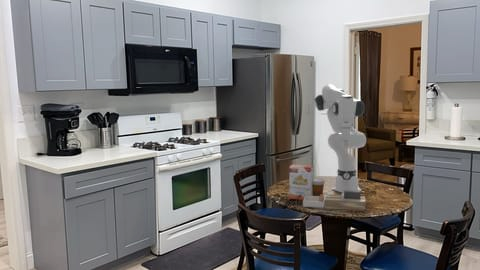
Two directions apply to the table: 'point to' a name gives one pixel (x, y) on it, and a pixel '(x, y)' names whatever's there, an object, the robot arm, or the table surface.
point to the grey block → (350, 195)
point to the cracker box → (301, 181)
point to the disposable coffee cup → (318, 186)
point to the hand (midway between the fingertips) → (346, 146)
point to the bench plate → (344, 203)
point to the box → (313, 202)
